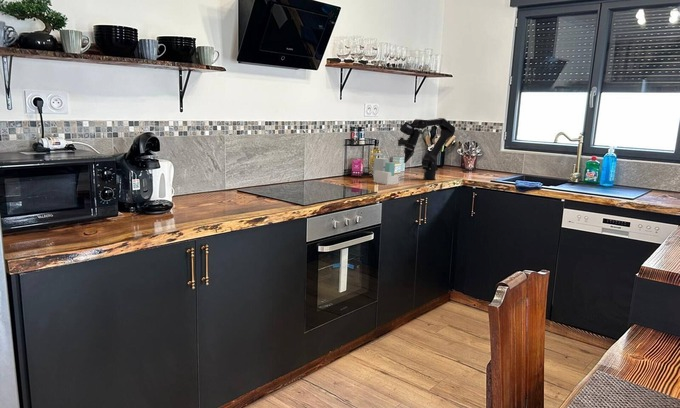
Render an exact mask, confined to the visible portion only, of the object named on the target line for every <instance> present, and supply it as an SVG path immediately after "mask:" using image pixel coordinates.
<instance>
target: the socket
mask: <svg viewBox="0 0 680 408" xmlns="http://www.w3.org/2000/svg"><path fill="white" fill-rule="evenodd" d="M391 174H392V173H391V172H385V171H379V170H375V171H374V178H373V183H377V184H380V185H382V184H383V185H386V186H387V185H394V184H395V185H396V184H399V178H400V177H399V175H394V176H391Z"/></svg>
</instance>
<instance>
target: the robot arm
mask: <svg viewBox="0 0 680 408" xmlns="http://www.w3.org/2000/svg"><path fill="white" fill-rule="evenodd" d="M431 126H438V127H439V130H440V134H439V137H438V139H437V140H436V142H435V144H434V146H433V147H432V148H431V151H430V152H429V153H428V154H424V156H423V158H422V159H421V165H422V169H423V170H424V171H423V180H426V181H436V180H437V179H436V171H438V170H439V167H438V165H437V158H438V155H439V154H440V152H441V151H442V148H443V147H444V146H445V144H446V142H447V141H448V139H450V138H452V136H453V135H454V133H455V132H456V128H455V126H454V125H452V123H450V122H449V121H447V119H446V118H444V117H439V118H432V119H419V118H415V119H413V121H412V122H411V123H410V122H408V121H405V122H404V123H403V124H402V125H401V126H400V129H399V131H400V133H402V134H405V136H409V137H407V139H404V137H400V138H399V139H397V146H398V147H402V146H403V147H404V148H403V149H404V150H403V153H404V159H403V160H404V161H403V163H404V164H406V163H407V162H408V161H409V160H410V159H411V158H412V157H413V156H414V153H415V149H416V146H417V143H418V140H419V138H420V135H424V132H423V129H425V128H427V127H431Z"/></svg>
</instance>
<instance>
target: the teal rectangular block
mask: <svg viewBox="0 0 680 408" xmlns="http://www.w3.org/2000/svg"><path fill="white" fill-rule="evenodd" d="M395 164H396V163H394V162H389V163H385V172H391V173H392V174H391V176H395V167H396V166H395Z"/></svg>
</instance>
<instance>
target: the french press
mask: <svg viewBox="0 0 680 408" xmlns="http://www.w3.org/2000/svg"><path fill="white" fill-rule="evenodd" d="M379 139H380V138H379V137H376V139H375V140H376V142H377V141H379ZM372 153H373V154H372ZM372 153H370V156H374V157H380V158H384V156H383V153H381V152H379V153H375V152H372ZM372 162H374V161H372ZM372 165H373V166H372ZM371 166H372V167H373V168H372V167H371ZM370 167H371V168H372V169H373V170H374V163H371V162H370ZM372 169H370V170H372ZM373 170H372V171H373ZM372 171H371V173H372V175H373V172H372ZM372 175H371V176H372Z"/></svg>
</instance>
